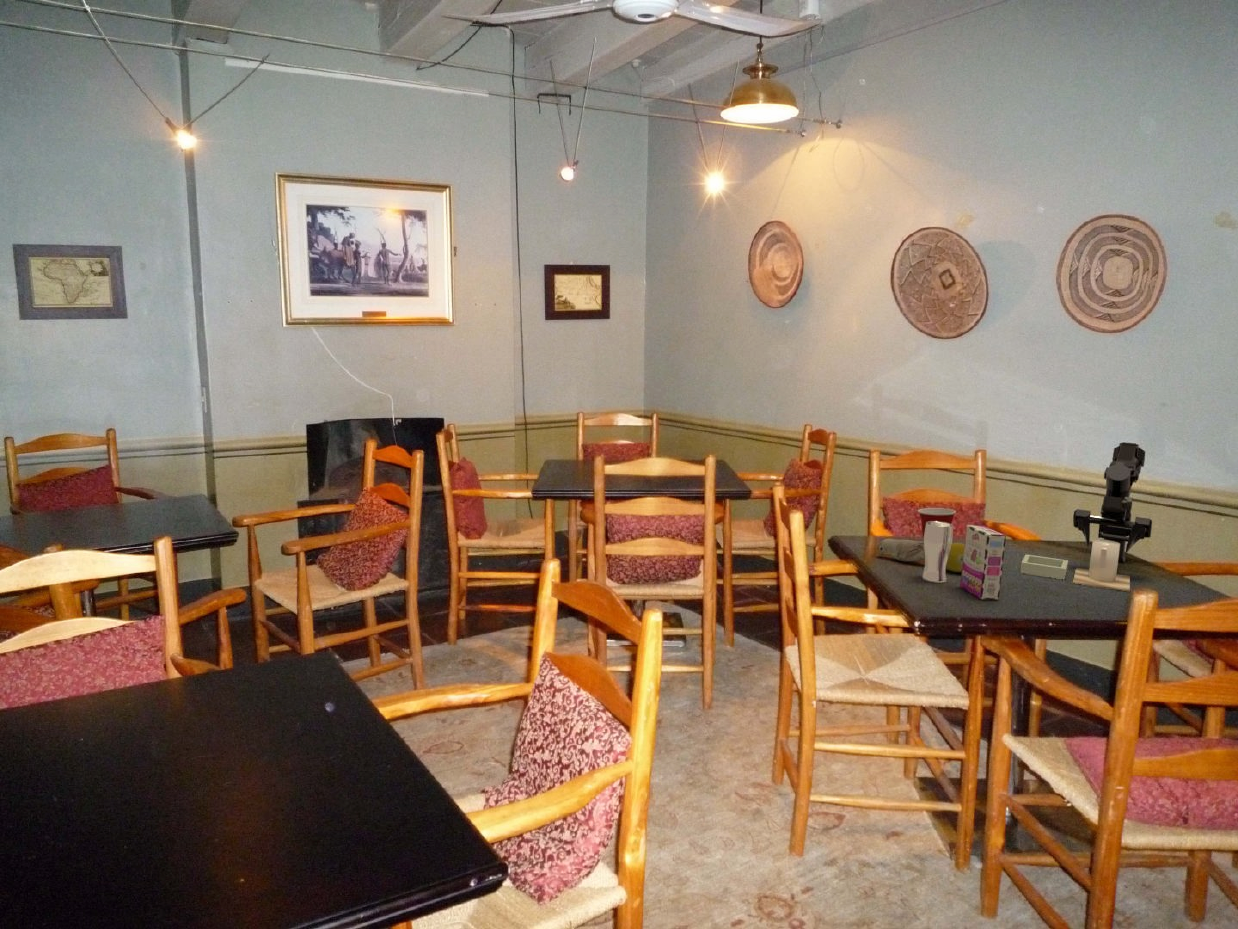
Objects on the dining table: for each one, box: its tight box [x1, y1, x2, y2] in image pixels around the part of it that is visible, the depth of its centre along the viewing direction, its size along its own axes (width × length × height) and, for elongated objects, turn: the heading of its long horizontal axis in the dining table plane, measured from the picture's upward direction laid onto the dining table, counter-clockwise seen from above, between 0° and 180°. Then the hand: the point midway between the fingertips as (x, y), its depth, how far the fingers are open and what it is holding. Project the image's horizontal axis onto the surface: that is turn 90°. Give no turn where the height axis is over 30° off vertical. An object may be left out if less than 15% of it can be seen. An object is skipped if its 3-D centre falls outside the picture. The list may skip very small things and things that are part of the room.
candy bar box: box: [960, 524, 1007, 601], centre depth 215 cm, size 11×5×16 cm, turn 5°
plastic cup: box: [917, 507, 957, 541], centre depth 260 cm, size 11×11×12 cm
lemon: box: [946, 542, 965, 573], centre depth 235 cm, size 11×8×8 cm
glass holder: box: [1020, 554, 1069, 581], centre depth 238 cm, size 11×11×3 cm
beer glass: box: [921, 521, 954, 584], centre depth 226 cm, size 7×7×15 cm
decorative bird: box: [877, 538, 925, 562], centre depth 244 cm, size 5×16×8 cm, turn 52°
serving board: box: [1072, 567, 1131, 593], centre depth 232 cm, size 16×13×1 cm
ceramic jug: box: [1088, 538, 1120, 582], centre depth 230 cm, size 8×6×10 cm
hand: (1106, 548), depth 234 cm, fingers open, 9 cm apart
